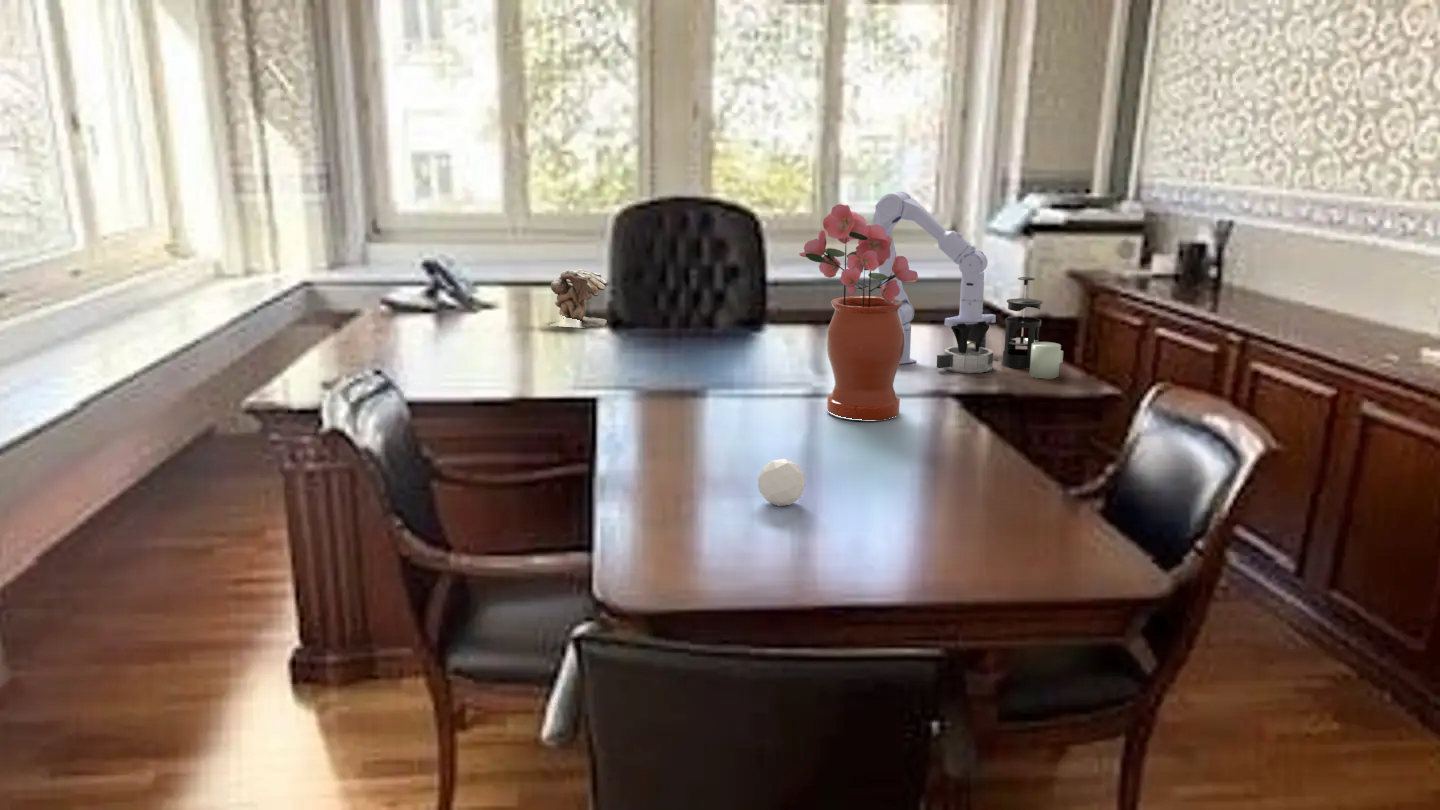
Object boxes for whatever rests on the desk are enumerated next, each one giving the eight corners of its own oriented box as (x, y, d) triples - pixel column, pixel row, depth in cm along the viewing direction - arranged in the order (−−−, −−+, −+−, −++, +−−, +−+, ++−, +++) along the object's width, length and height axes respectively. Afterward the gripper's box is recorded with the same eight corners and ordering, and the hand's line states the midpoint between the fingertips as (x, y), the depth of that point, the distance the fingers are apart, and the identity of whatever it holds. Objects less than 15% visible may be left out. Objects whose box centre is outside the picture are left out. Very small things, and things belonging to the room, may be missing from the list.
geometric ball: (769, 516, 177) (753, 473, 179) (814, 499, 177) (796, 456, 179) (765, 509, 170) (748, 464, 172) (811, 491, 169) (793, 446, 172)
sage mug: (1042, 380, 259) (1044, 348, 257) (1023, 374, 265) (1025, 343, 263) (1069, 376, 262) (1072, 345, 260) (1050, 371, 268) (1052, 340, 266)
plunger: (964, 369, 266) (965, 346, 264) (943, 362, 273) (944, 340, 272) (992, 366, 269) (993, 343, 268) (971, 359, 277) (972, 337, 275)
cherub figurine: (568, 317, 348) (566, 262, 343) (618, 320, 342) (616, 265, 337) (542, 326, 331) (539, 269, 327) (593, 329, 325) (591, 272, 321)
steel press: (952, 376, 263) (952, 358, 261) (924, 367, 273) (924, 349, 272) (1001, 370, 269) (1002, 353, 267) (972, 361, 279) (973, 344, 278)
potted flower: (794, 401, 240) (796, 201, 228) (903, 399, 241) (912, 200, 230) (805, 424, 222) (809, 207, 210) (923, 421, 223) (933, 206, 211)
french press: (1047, 368, 271) (1054, 279, 266) (1014, 370, 269) (1020, 280, 263) (1023, 358, 282) (1029, 273, 276) (991, 360, 280) (997, 274, 274)
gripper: (957, 303, 261) (954, 357, 264) (1004, 299, 266) (1001, 352, 270) (940, 299, 267) (938, 352, 270) (987, 295, 273) (983, 347, 276)
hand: (968, 351), depth 270 cm, fingers closed on plunger, 3 cm apart
